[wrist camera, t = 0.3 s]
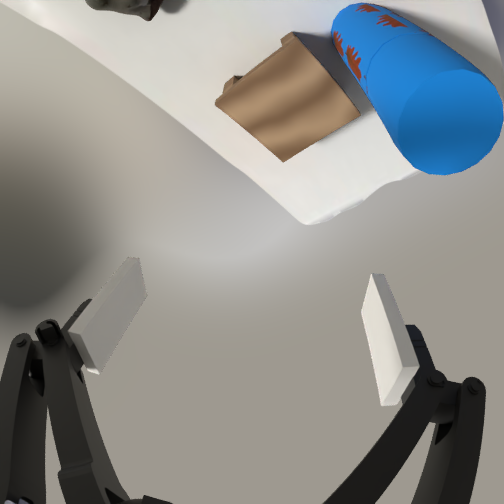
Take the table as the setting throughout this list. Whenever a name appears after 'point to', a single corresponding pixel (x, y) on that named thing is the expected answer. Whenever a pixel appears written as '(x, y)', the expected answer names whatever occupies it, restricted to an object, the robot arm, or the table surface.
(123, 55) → the table surface
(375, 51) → the thermos
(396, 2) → the table surface
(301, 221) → the table surface
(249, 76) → the small wooden stool
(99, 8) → the rock
